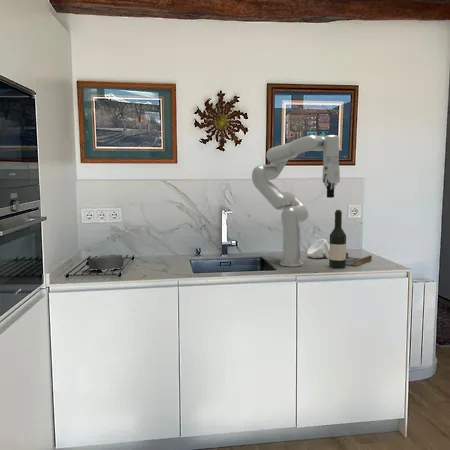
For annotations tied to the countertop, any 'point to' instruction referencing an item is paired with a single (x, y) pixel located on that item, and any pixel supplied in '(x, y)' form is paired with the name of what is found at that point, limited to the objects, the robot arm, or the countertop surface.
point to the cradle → (357, 260)
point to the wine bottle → (337, 244)
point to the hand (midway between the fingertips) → (330, 197)
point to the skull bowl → (319, 249)
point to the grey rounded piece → (105, 262)
